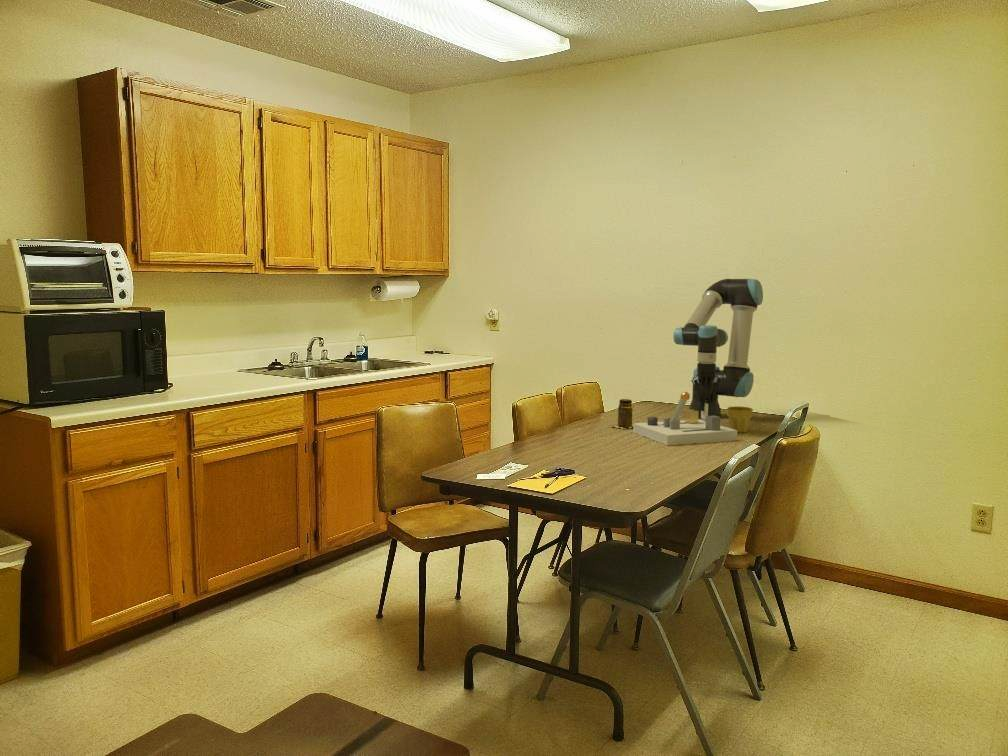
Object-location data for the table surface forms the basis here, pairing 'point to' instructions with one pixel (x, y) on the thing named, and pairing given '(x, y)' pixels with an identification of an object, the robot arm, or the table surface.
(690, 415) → the brass slider
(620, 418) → the condiment
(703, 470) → the table surface
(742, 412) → the plant pot
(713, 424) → the grey slider
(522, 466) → the table surface
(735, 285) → the robot arm
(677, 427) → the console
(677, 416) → the toggle lever
